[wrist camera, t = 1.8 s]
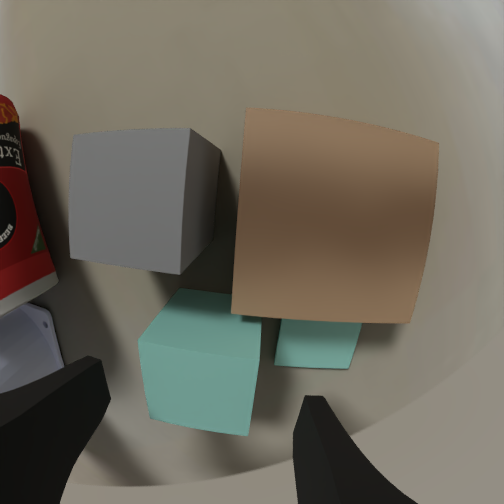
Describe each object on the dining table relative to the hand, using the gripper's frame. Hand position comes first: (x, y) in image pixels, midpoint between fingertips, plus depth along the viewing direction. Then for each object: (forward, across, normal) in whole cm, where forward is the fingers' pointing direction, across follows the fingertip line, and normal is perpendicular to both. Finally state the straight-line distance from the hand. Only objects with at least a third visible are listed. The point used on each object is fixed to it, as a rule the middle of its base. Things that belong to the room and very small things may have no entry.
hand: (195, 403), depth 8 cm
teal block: (+5, 0, 0) cm, 5 cm away
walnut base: (+6, -4, -6) cm, 9 cm away
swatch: (+5, -5, 0) cm, 7 cm away
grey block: (+5, +3, -6) cm, 9 cm away
